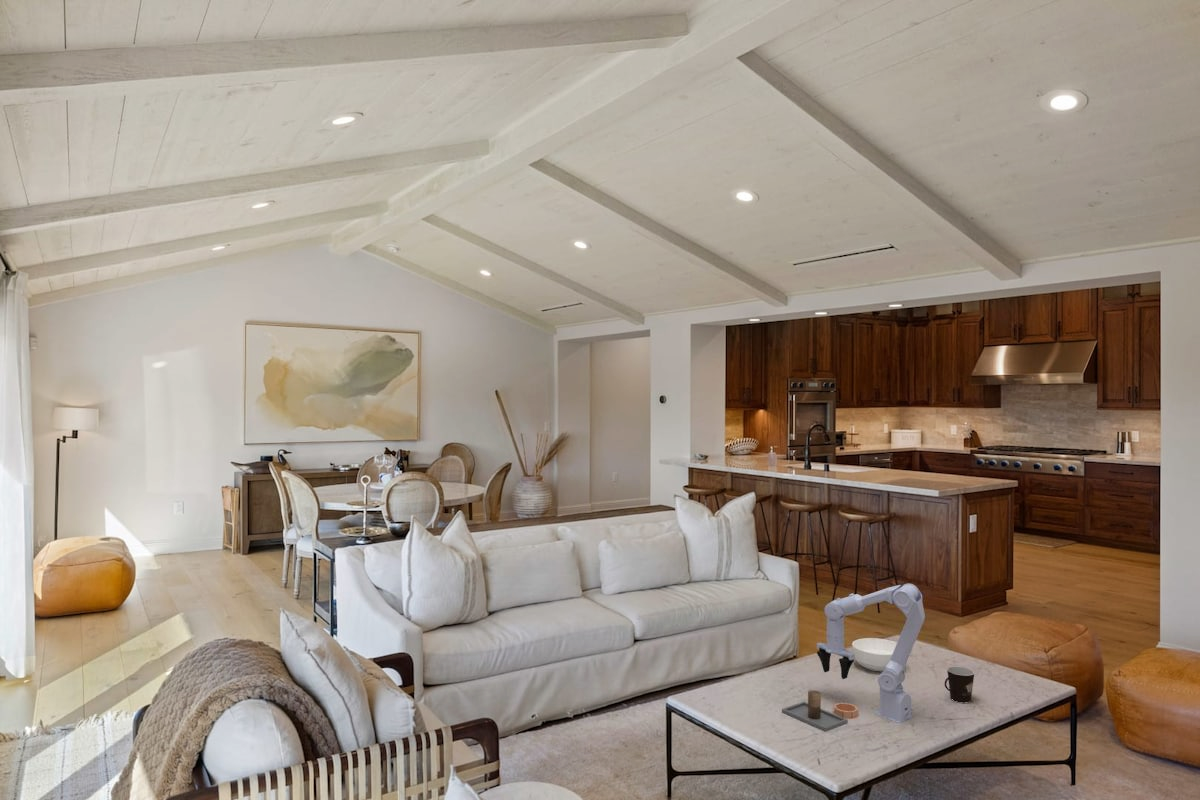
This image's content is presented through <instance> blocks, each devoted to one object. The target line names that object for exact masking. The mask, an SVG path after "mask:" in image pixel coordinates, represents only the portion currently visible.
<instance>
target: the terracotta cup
mask: <svg viewBox="0 0 1200 800" xmlns="http://www.w3.org/2000/svg"><path fill="white" fill-rule="evenodd" d="M832 713H833V714H835V715H838V716H840V717H842V718H845V719H847V720H855V719H858V718H859V716H860V714H859V709H858V706H857V705H855V704H852V703H848V702H838V703H835V704H833V710H832Z"/></svg>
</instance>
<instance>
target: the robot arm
mask: <svg viewBox="0 0 1200 800" xmlns="http://www.w3.org/2000/svg"><path fill="white" fill-rule="evenodd" d="M882 602H887V603H889V604H892V605H893V604H894V605H895V606H896V607H897V608H898V609H899V610H900V611H901V612H903V614H904V616H905V617H906V620H905V622H904V623H905V624H904V625H903V628H902V631H901V633H900V636H899V638H898V639H897V644H896V647H895V649H894V652H893V654H892V657H891V659H890V661H889V663H888V664H887V666H886V668H885V670H884V672H881V673H879V675H878V677H877V683H878V686H879V710H877V711H874V713H873V714H874V715H876V716H877V715H878V716H879V717H882V718H885V719H887V720H890V721H893V722H894V723H898V724H900V723H903V722H905V721H908V720H910V719H913V718H914V716H913V715H912V697H911V695H910V694H908V693H906V691H904V687H903V684H902V683H904V681H905V679H906V678H905V677H906V675H905V674H906V673H905V671H906V668H907V662H908V660H909V658H910V655H911V652H912V650H913V647H914V645H915V643H916V641H917V638H918V635H919V634H920V631H921V629H922V626H923V624H924V621H925V619H926V614H925V609H924V605H923V595H922V592H920V590H919V588H918V587H917V586H916V585H914V584H913V583H905V584H903V585H902V584H897V585H894V586H891V587H890V586H889V587H886V588H883V589H881V590H878V591H874V592H872V593H869V594H866V595H861V594H858V593H856V594H854V593H850V594H848V596H846V597H842V598H841V597H837V598H836V599H833V600H832V601H831V602H828V603H827V604H826V605H825V607H824V615H825V616H826V643H823V642H817V643H816V650H818V651H817V652H816V654H817V657H818V658H819V660H820V662H821V666H822V670H823V673H828V672H830V667H831V666H830V665H831V663H830V662H831V657H832V654H833V655H836V656H839V657H841V658H839V659H838V662H839V665H840V672H841V675H840V676H841V679H842V680H845V679H847V678H848V675H849V671H850V668H851V667H852V665H853V663H854V661H855V660H856V659H855V654H854V653H852V651H849V650H848V649H846V648H845V623H844V620H845V616H849V615H852V614H853V615H854V614H857V613H860V612H863V611H864V610H865V608H866V607H867V606H870V605H874V604H878V603H882Z"/></svg>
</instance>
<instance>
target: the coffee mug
mask: <svg viewBox="0 0 1200 800" xmlns="http://www.w3.org/2000/svg"><path fill="white" fill-rule="evenodd" d="M946 670H947V678H946V679H945V681H944V687H945V688H946V690H947V691H949V696H950V700H951V699H953V700H954V701H953V700H952V701H953V702H955V701H958V702H969V701H971V700H972V694H973V689H974V688H973V686H974V681H975V671H974V670H972V669H970V668H966V667H962V666H948V668H947V669H946ZM947 682H948V686H947ZM958 702H957V703H958ZM971 702H972V701H971Z"/></svg>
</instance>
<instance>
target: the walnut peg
mask: <svg viewBox="0 0 1200 800" xmlns="http://www.w3.org/2000/svg"><path fill="white" fill-rule="evenodd" d="M821 697H822V696H821V691H819V690H814V689H813V690H811V689H810V690H809V691H808V692H807V703H808V717H809V718H811V719H820V718H821V709H822V708H821V705H822V704H821V701H822V699H821Z"/></svg>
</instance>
